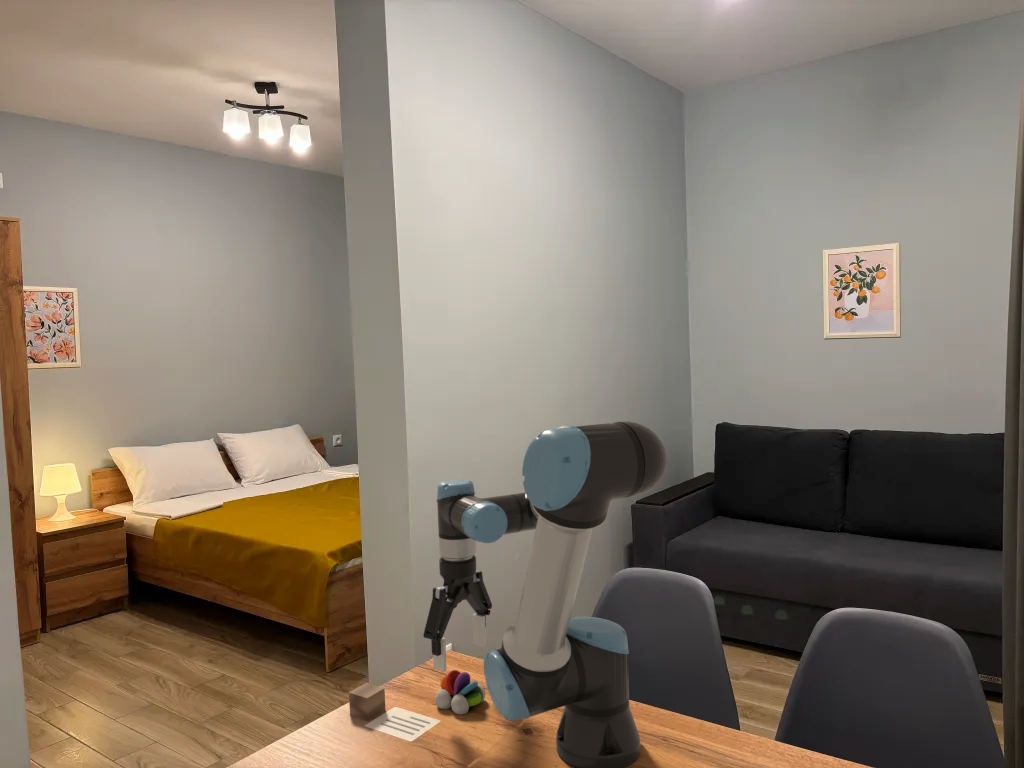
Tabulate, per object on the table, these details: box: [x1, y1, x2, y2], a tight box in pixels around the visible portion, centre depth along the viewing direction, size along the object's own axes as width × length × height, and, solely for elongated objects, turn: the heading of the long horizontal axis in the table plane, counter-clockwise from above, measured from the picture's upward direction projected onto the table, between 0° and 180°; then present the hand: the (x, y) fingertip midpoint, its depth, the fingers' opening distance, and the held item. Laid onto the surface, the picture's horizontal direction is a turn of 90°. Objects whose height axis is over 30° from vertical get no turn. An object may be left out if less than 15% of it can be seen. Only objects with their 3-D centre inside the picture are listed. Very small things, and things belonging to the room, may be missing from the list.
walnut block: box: [348, 682, 386, 722], centre depth 152 cm, size 5×5×5 cm
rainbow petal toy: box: [434, 669, 486, 716], centre depth 155 cm, size 8×10×7 cm
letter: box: [364, 706, 441, 742], centre depth 148 cm, size 12×9×1 cm
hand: (460, 657), depth 156 cm, fingers open, 13 cm apart
